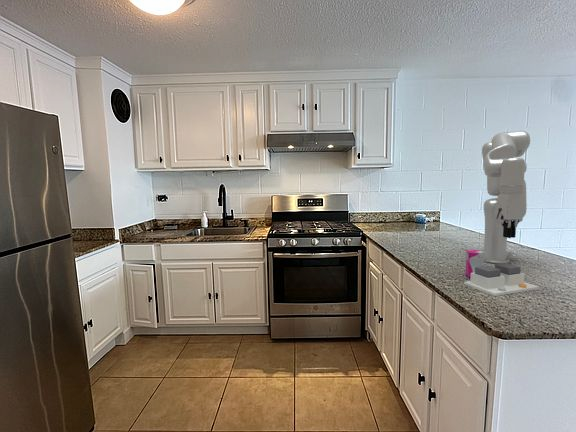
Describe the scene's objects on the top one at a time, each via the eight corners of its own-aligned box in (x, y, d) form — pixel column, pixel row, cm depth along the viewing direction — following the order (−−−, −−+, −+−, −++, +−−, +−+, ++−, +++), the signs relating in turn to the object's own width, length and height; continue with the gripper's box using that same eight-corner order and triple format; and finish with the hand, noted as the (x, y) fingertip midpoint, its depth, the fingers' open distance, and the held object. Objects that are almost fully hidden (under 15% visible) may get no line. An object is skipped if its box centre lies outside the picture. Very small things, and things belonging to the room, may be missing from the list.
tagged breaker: (506, 272, 131) (506, 263, 131) (520, 276, 126) (520, 266, 125) (494, 274, 130) (495, 264, 129) (508, 278, 124) (508, 268, 124)
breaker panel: (505, 278, 135) (505, 266, 134) (538, 289, 121) (539, 276, 121) (464, 284, 129) (464, 272, 129) (494, 296, 116) (495, 282, 115)
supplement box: (480, 275, 140) (481, 249, 138) (483, 279, 134) (484, 252, 133) (465, 274, 142) (466, 249, 140) (467, 278, 136) (468, 252, 135)
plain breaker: (486, 275, 129) (487, 265, 128) (500, 279, 123) (500, 269, 123) (474, 276, 127) (474, 267, 127) (487, 281, 121) (488, 271, 121)
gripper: (517, 189, 129) (515, 234, 131) (487, 191, 125) (485, 237, 127) (536, 190, 122) (533, 237, 124) (504, 191, 118) (502, 240, 120)
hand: (509, 237), depth 126 cm, fingers closed
